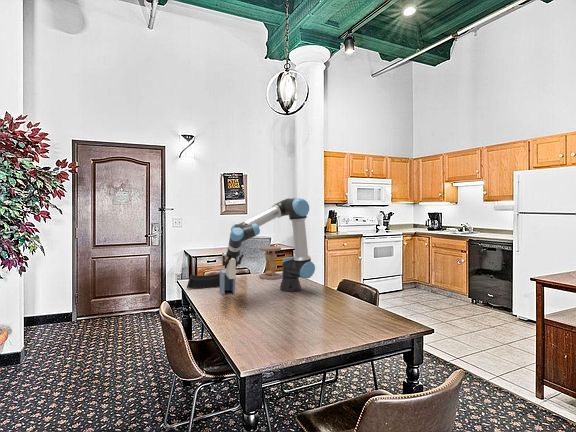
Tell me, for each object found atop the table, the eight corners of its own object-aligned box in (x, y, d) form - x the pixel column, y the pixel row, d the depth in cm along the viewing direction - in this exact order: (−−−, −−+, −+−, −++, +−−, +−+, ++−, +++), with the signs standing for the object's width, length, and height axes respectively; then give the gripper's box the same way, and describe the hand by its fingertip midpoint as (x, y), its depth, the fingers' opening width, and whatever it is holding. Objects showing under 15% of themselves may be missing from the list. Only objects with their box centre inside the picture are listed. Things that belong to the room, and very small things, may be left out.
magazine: (183, 277, 256) (224, 262, 265) (183, 276, 259) (223, 262, 268) (190, 299, 258) (231, 284, 267) (190, 298, 261) (230, 283, 271)
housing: (235, 294, 245) (235, 272, 244) (222, 295, 242) (222, 273, 242) (231, 289, 258) (231, 269, 257) (219, 290, 255) (219, 269, 255)
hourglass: (258, 276, 308) (258, 246, 307) (278, 275, 312) (278, 245, 311) (261, 280, 291) (261, 248, 290) (282, 279, 295) (283, 248, 294)
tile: (235, 278, 230) (235, 259, 230) (229, 279, 229) (229, 259, 229) (232, 274, 243) (232, 256, 242) (226, 275, 241) (226, 257, 241)
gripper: (220, 253, 218) (217, 275, 234) (248, 252, 223) (243, 274, 240) (219, 243, 223) (216, 266, 239) (247, 242, 228) (242, 264, 244)
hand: (229, 270), depth 239 cm, fingers closed on tile, 4 cm apart
